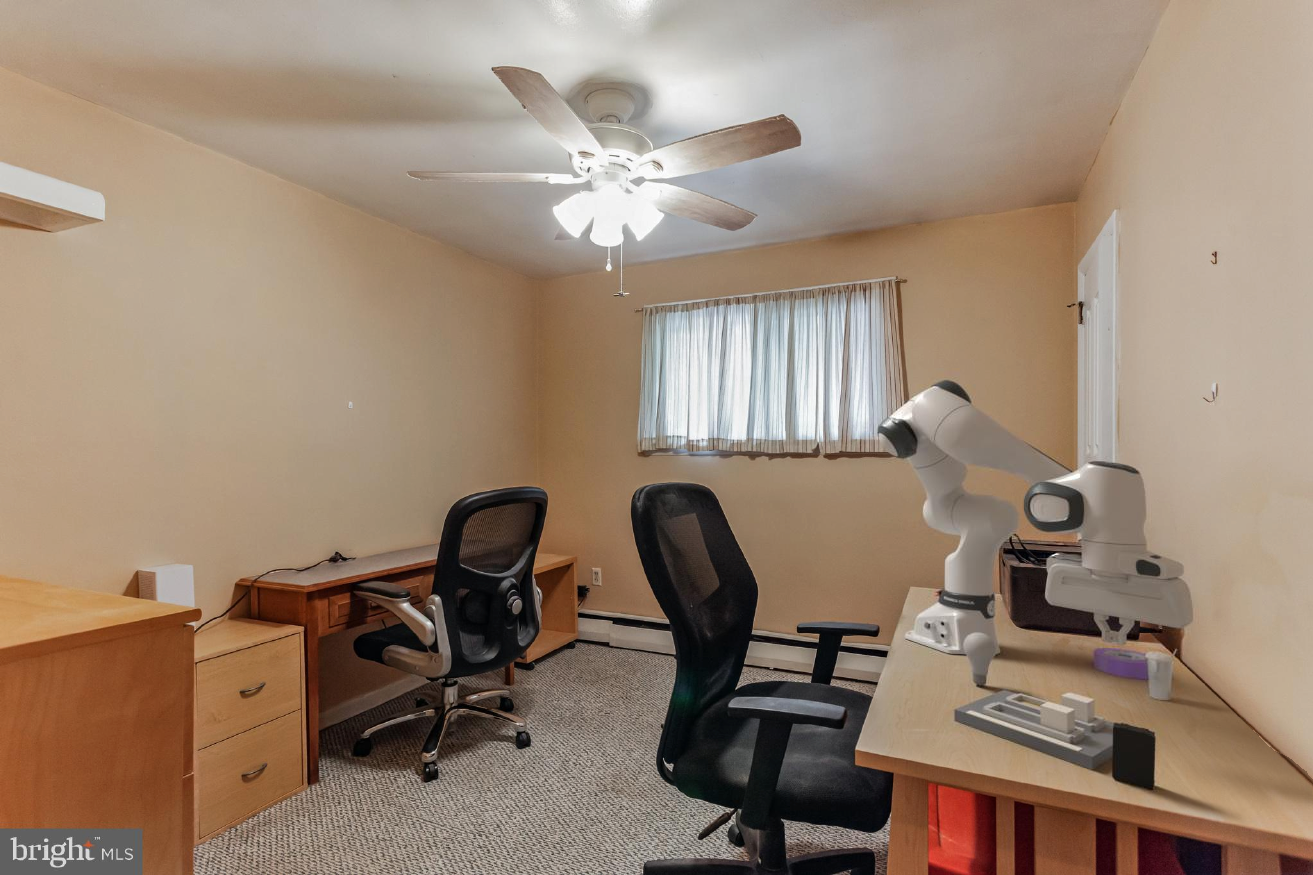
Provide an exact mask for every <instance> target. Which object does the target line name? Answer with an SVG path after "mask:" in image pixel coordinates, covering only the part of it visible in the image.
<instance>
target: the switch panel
mask: <svg viewBox="0 0 1313 875" xmlns="http://www.w3.org/2000/svg"><path fill="white" fill-rule="evenodd" d="M1047 702H1049V701H1048V700H1045V699H1044V700H1043V699H1041V698H1037V697H1035V696H1030V695H1027V694H1024V693H1016V692H1012V691H1009V690H1006V689H1003V690H1000V691H998V692H996V693H995V692H994V693H993V694H990V695H988V696H985V697H982V698H979V699H977V700H975V701H973V702H970V703H967V704H965V705H962V706H959V707H957V708H954V713H953V714H954V719H953V720H954V721H955V722H957V723H961V724H963V725H966V726H969V727H972V728H974V729H977V730H980V731H983V732H985V733H988V734H991V735H994V736H996V737H1000V738H1002V739H1005V740H1008V741H1011V742H1013V743H1016V744H1019V745H1022V746H1024V747H1027V748H1029V749H1032V750H1036V751H1038V752H1041V753H1043V754H1047V755H1049V756H1052V757H1054V758H1057V759H1061V760H1063V761H1065V762H1069V763H1071V764H1075V765H1077V766H1080V767H1082V768H1085V769H1088V770H1090V771H1093V770H1095V769H1097V768H1098V767H1100V766H1102V765H1103V764H1105V763H1106V762H1107V761H1108V762H1109V760H1111V759H1112V753H1113V725H1114V722H1112V721H1109V720H1105V717H1101V716H1099V715H1098V716H1097V715H1095V721H1093V722H1091V723H1086V722H1083V721H1079V720H1076V719H1075V731H1074V732H1072V733H1070V734H1065V733H1062V732H1059V731H1056V730H1053V729H1050V728H1047V727H1044V726H1041V705H1042V704H1045V703H1047Z"/></svg>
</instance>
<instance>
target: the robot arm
mask: <svg viewBox="0 0 1313 875" xmlns="http://www.w3.org/2000/svg"><path fill="white" fill-rule="evenodd" d="M876 433H877V436H878V440H879V443H880V444H881V446H882V448H883V449H885V451H886V452H888V453H889V454H890V455H891V456H892V457H894V458H897V459H901V460H904V459H907V461H908V463H909V465H910V466H911V467H912V470H914V472H915V475H916V476H917V477H918V479H919V481H920V482H921V485H922V486H923V489H924V491H925V493H926V494H925V495H926V500H925V501H924V504H923V507H922V508H923V509H922V516H923V519H924V522H925V524H927V525H928V526H929V528H931V529H934V530H935V531H936V530H937V531H939V532H940V533H943V534H947V535H952V536H953V535H954V536H960V541H959V543H958V546H957V548H956V550H955V551H954V552H952V553H950V554H948V555H947V557H946V558H945V561H944V588H942V589H940V590H937V591H934V593H935V594H934V597H938V600H937V602H936V603H934V604H933V605H931V606H929V607H927V608H926V609H925V610H923V611H921V612H920V613H919V614H917V616H916V617H915V622H914V627H913V629H911V630H909V631H906V633H905V634H904V638H905V639H906V640H909V641H912V642H915V643H917V644H920V645H923V646H927V647H929V648H932V649H934V650H937V651H940V652H943V653H946V654H950V655H951V654H952V655H966V653H965V651H964V647H963V644H964V641H965V639H966V637H967V636H968V635H970V634H972V633H983V634H986V635H987V636H989V637H990V638H991V639H992V640H993V642H994V643H995V646H996V653H995V655H998V654H1000V653H1001V649H1000V648H1001V647H1000V646H999V642H998V637H997V632H996V625H995V624H996V623H995V616H996V594H995V593H994V572H995V571H994V568H995V563H996V559H997V555H998V552H999V550H1000V548H1001V547H1002V545H1003V544H1004V543H1005V542H1006V541H1008V539H1010V538H1011V537H1013V535H1015V533H1016V532H1017V530H1018V529H1019V525H1020V513H1019V510H1018V508H1017V506H1016V505H1015V503H1013V502H1012V501H1010V500H1008V499H1006V498H1003V497H1002V498H1001V497H999V496H995V495H993V494H991V495H990V494H979V493H978V494H977V493H970V492H968V491H967V490H966V489H965V487H964V486H963V483H964V482H965V481H966V479H967V474H968V467H967V465H970V466H976V467H983V468H988V469H995V470H999V471H1003V472H1007V473H1009V474H1012V475H1015V476H1018V477H1019V478H1020V479H1022V480H1024V481H1025V482H1026V483H1029V484H1030V485H1032V486H1030V487H1029V489H1028V490H1027V492H1026V493H1025V495H1024V499H1023V511H1024V515H1025V517H1026V519H1027V521H1028V522H1029V524H1030V525H1031V526H1032V527H1034V528H1036V529H1037V530H1039V531H1041V532H1045V533H1047V534H1056V535H1057V534H1058V535H1059V534H1069V535H1070V534H1080V536H1081V554H1076V553H1075V554H1073V553H1071V554H1070V553H1068V554H1067V553H1064V552H1055V554H1051V555H1050V556H1048V557H1047V559H1046V572H1047V578H1046V584H1045V593H1044V597H1045V600H1046V601H1047V603H1048V604H1049V605H1051V606H1056V607H1062V608H1065V609H1066V608H1067V609H1073V610H1077V611H1083V612H1088V613H1093V620H1094V622H1095V623H1096V625H1097V627H1098V629H1100V631H1101V641H1102V642H1105V643H1111V644H1114V645H1119V646H1125V645H1126V644H1127V635H1128V634H1129V632H1130V631H1131V629H1132V628H1133V627H1134V626H1135V621H1137V622H1143V623H1149V624H1153V625H1159V626H1163V627H1169V628H1176V629H1183V628H1186V627H1188V626H1190V625H1191V624H1192V623H1193V621H1194V610H1193V608H1194V607H1193V600H1192V595H1191V591H1190V588H1189V585H1188V584H1187V582H1185V580H1183V579H1182V578H1180V577H1181V576H1183V575H1184V572H1185V567H1184V565H1183V564H1182V563H1181V562H1179V561H1176V560H1173V559H1171V558H1169V557H1165V556H1163V555H1160V554H1157V553H1156V552H1152V551H1150V550H1148V549H1147V548H1148V545H1147V538H1146V536H1145V532H1144V527H1145V522H1146V520H1147V499H1146V498H1147V497H1146V489H1145V484H1144V479H1143V476H1142V473H1141V472H1140V471H1139V470H1138V469H1136V468H1135V467H1134V466H1131V465H1127V464H1123V463H1120V462H1119V463H1118V462H1113V461H1112V462H1110V461H1102V460H1101V461H1099V460H1095V461H1093V460H1092V461H1087V462H1086V463H1085V464H1084V465H1082V466H1081V467H1080V468H1079V469H1077V470H1074V471H1073V470H1071V469H1070V468H1067V467H1066V466H1065V465H1063V464H1062V463H1060V462H1058V461H1057V460H1055V459H1054V458H1052V457H1050V456H1049V455H1047V454H1046V453H1044V452H1043V451H1042V450H1039V449H1038V448H1036V447H1034V446H1032V445H1031V444H1029V443H1028V442H1026V441H1024V440H1023V439H1021V438H1020V437H1018V436H1017V435H1016V434H1014V433H1013V432H1011V431H1010V430H1008V429H1007V428H1005V427H1004V426H1003V425H1001V424H1000V423H998V422H997V421H996V420H995V419H993V418H991V417H990V416H989V415H988V414H986V413H984V411H982V410H980V409H979V408H978V407H977V406H975V405H974V404H972V400H971V398H970V396H969V394H968V393H967V391H966V390H965V389H964V388H963V387H962V386H961V385H960V384H959V383H957V382H955V381H952V380H948V379H944V380H940V381H938V382H935V383H934V384H932V385H931V386H930V387H929V388H927V389H925V390H923V391H921V392H920V393H918V394H916V395H915V396H913V397H911V398H910V399H909V400H907V401H906V403H905V404H903V405H902V406H901V407H899V408H898V409H897V410H896V411H895V412H893V413H892V414H891V415H890V416H887V417H886V418H885V419H883V420H882V421H881V423H879V425H878V427H877V432H876ZM1109 617H1116V618H1119V619H1118V620H1119V621H1118V622H1119V625H1122V627H1121V628H1120V630H1119V631H1115V630H1111V628H1110V626H1109V625H1108V624H1109V623H1107V621H1106V620H1109Z"/></svg>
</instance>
